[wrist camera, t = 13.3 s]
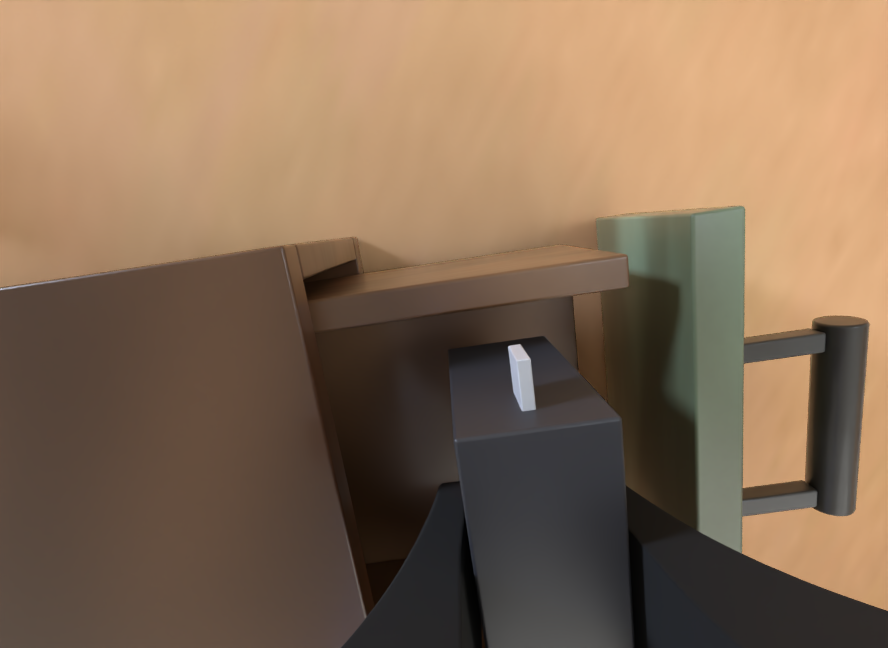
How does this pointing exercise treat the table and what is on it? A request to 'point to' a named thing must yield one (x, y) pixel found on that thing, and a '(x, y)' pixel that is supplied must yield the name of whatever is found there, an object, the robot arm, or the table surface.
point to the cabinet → (175, 459)
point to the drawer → (627, 371)
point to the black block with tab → (541, 498)
